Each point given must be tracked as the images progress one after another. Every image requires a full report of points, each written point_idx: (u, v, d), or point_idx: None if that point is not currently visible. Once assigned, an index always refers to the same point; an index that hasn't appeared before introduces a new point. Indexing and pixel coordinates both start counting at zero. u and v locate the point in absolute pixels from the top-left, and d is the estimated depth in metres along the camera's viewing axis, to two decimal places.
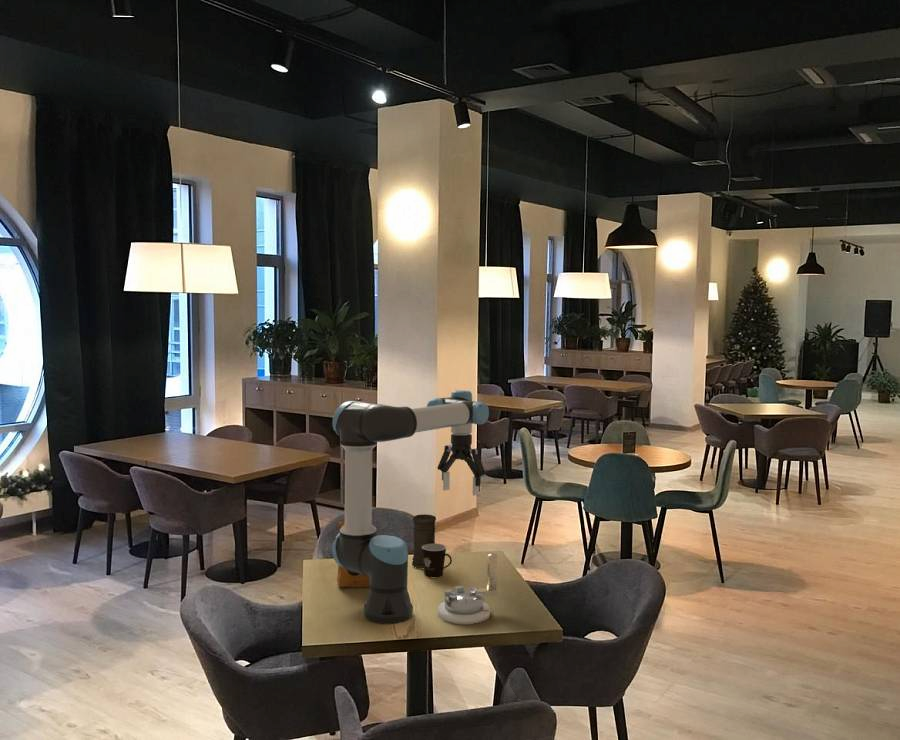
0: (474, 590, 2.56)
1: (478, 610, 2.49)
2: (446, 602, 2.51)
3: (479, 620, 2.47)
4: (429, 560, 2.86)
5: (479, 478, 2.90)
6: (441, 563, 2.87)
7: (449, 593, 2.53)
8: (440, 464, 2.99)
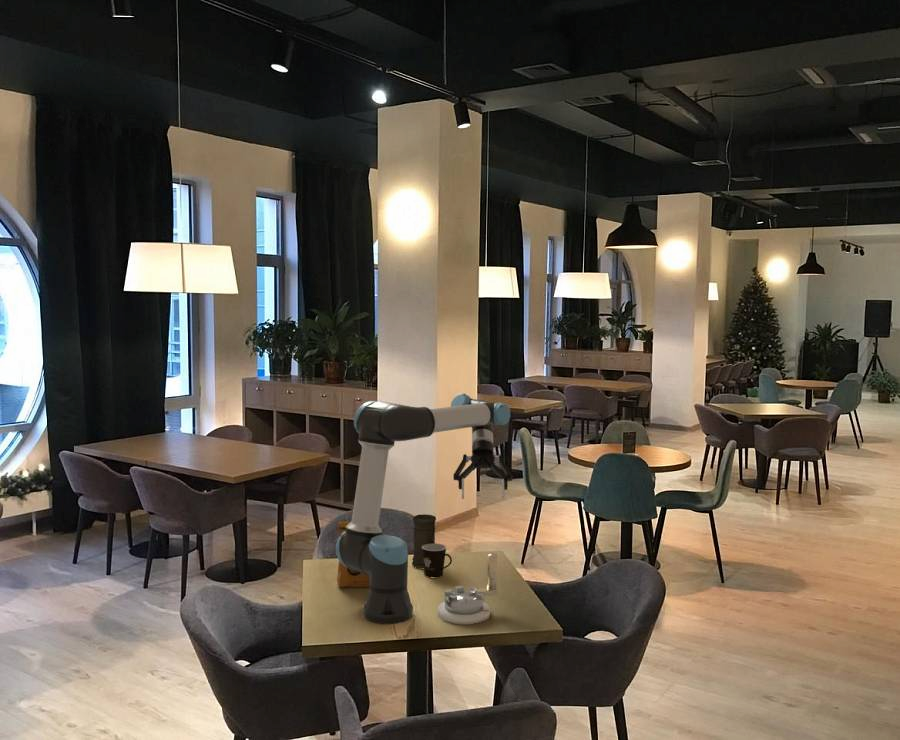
0: (474, 590, 2.56)
1: (478, 610, 2.49)
2: (446, 602, 2.51)
3: (479, 620, 2.47)
4: (429, 560, 2.86)
5: None
6: (441, 563, 2.87)
7: (449, 593, 2.53)
8: (457, 471, 2.81)
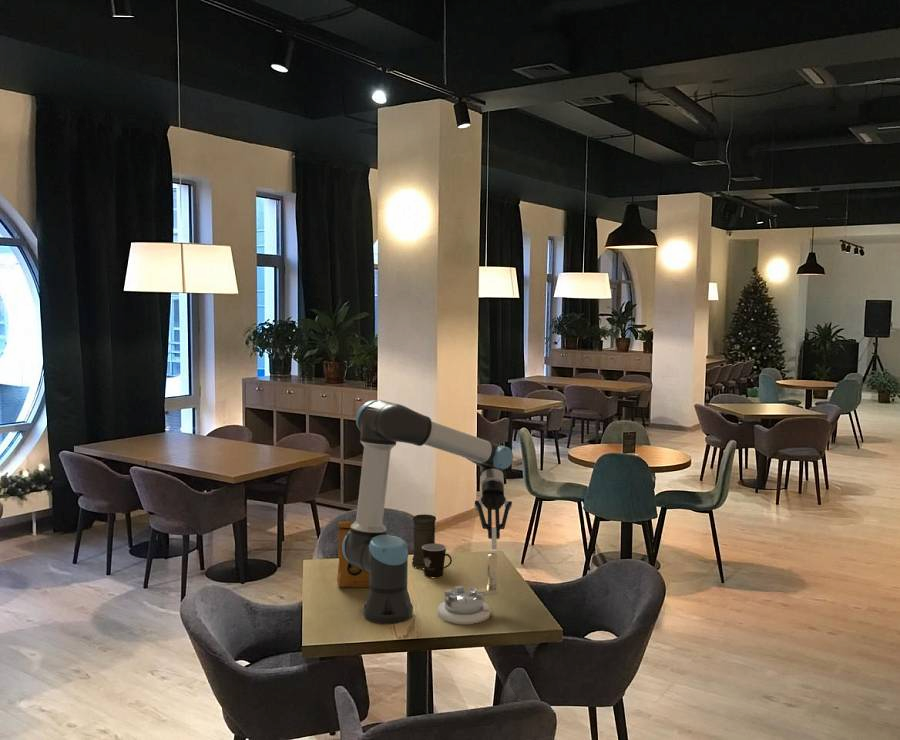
0: (474, 590, 2.56)
1: (478, 610, 2.49)
2: (446, 602, 2.51)
3: (479, 620, 2.47)
4: (429, 560, 2.86)
5: (499, 530, 2.72)
6: (441, 563, 2.87)
7: (449, 593, 2.53)
8: (483, 519, 2.73)
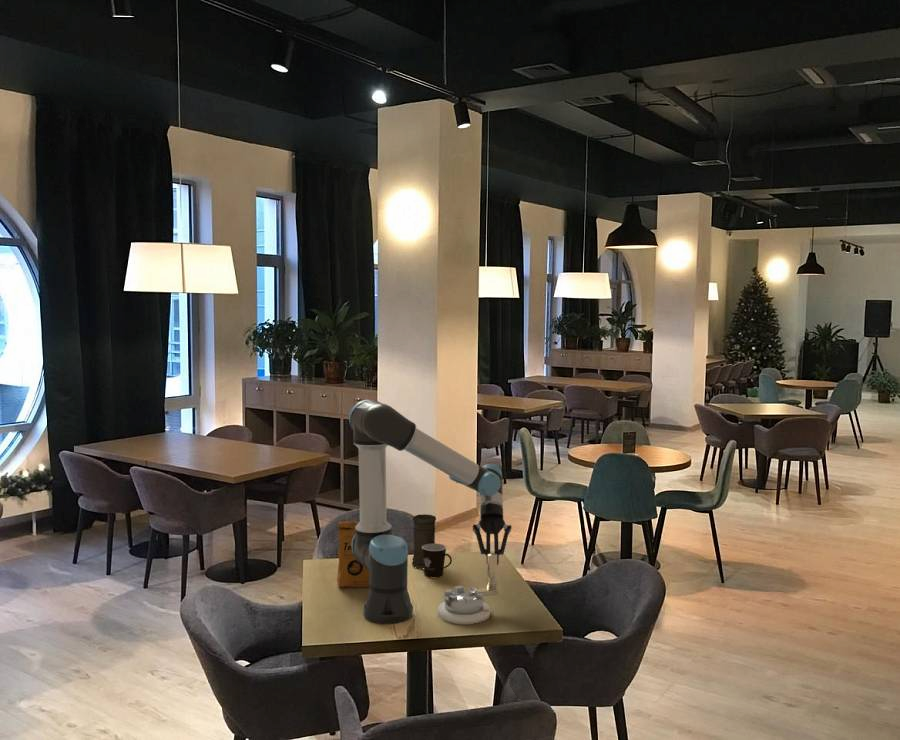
0: (474, 590, 2.56)
1: (478, 610, 2.49)
2: (446, 602, 2.51)
3: (479, 620, 2.47)
4: (429, 560, 2.86)
5: (498, 556, 2.62)
6: (441, 563, 2.87)
7: (449, 593, 2.53)
8: (482, 544, 2.63)
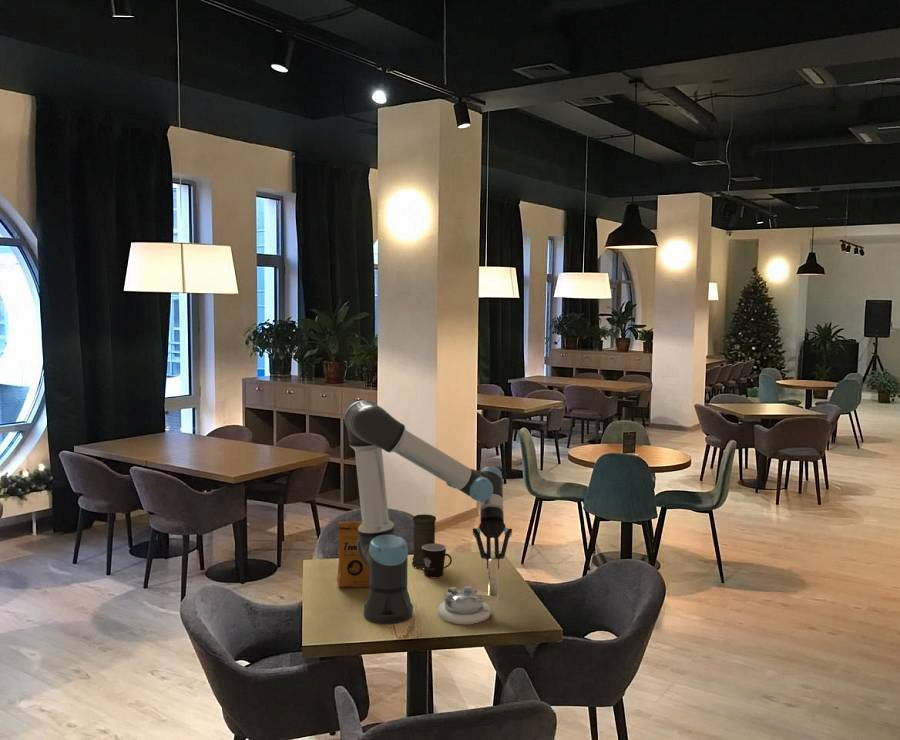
0: (477, 592, 2.54)
1: (469, 612, 2.48)
2: None
3: (479, 620, 2.47)
4: (429, 560, 2.86)
5: (498, 560, 2.57)
6: (441, 563, 2.87)
7: (451, 590, 2.55)
8: (482, 548, 2.58)
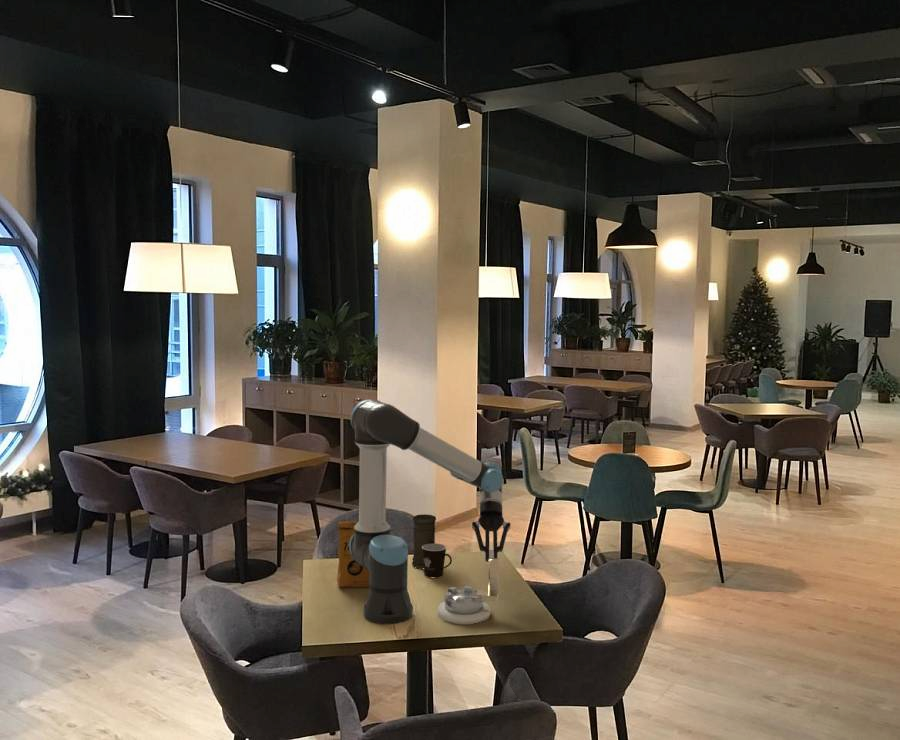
0: (477, 592, 2.54)
1: (469, 612, 2.48)
2: None
3: (479, 620, 2.47)
4: (429, 560, 2.86)
5: None
6: (441, 563, 2.87)
7: (451, 590, 2.55)
8: (481, 541, 2.65)
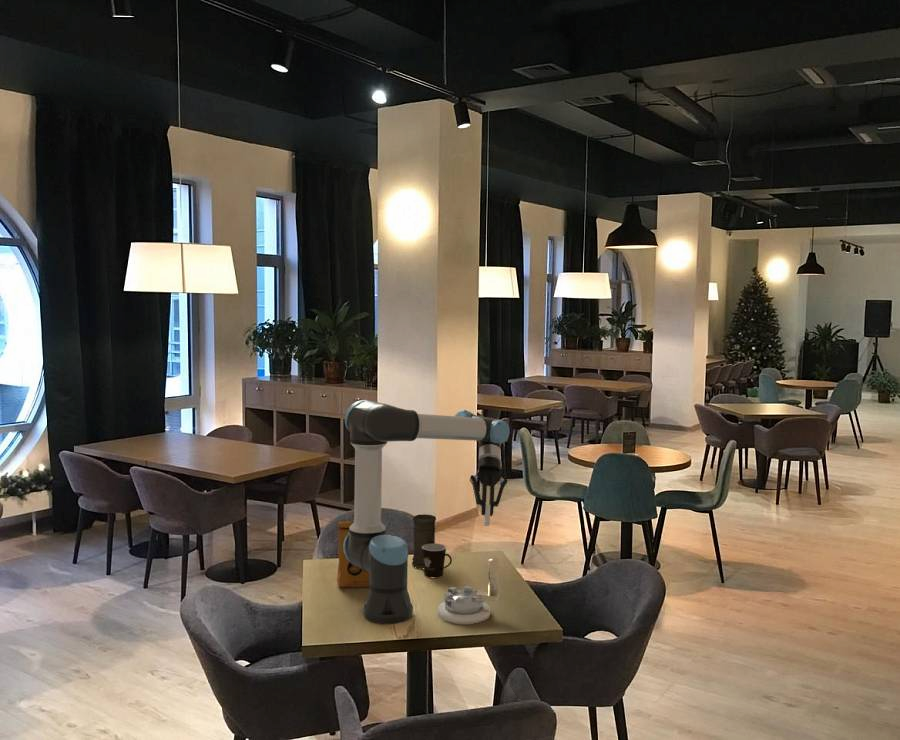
0: (477, 592, 2.54)
1: (469, 612, 2.48)
2: None
3: (479, 620, 2.47)
4: (429, 560, 2.86)
5: None
6: (441, 563, 2.87)
7: (451, 590, 2.55)
8: (478, 495, 2.71)
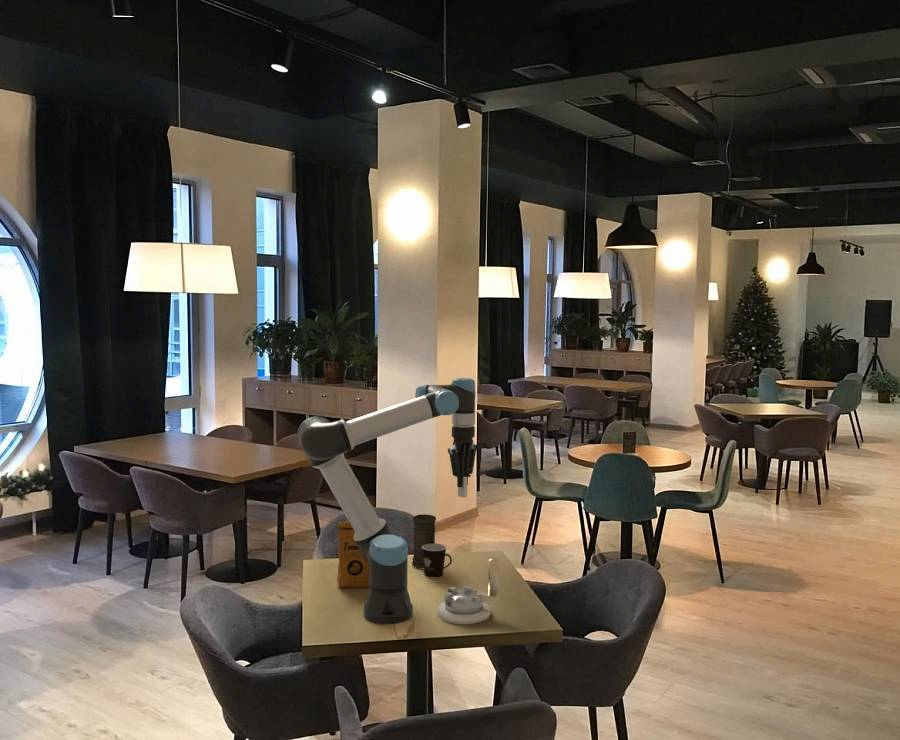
0: (477, 592, 2.54)
1: (469, 612, 2.48)
2: None
3: (479, 620, 2.47)
4: (429, 560, 2.86)
5: None
6: (441, 563, 2.87)
7: (451, 590, 2.55)
8: (458, 470, 2.66)
